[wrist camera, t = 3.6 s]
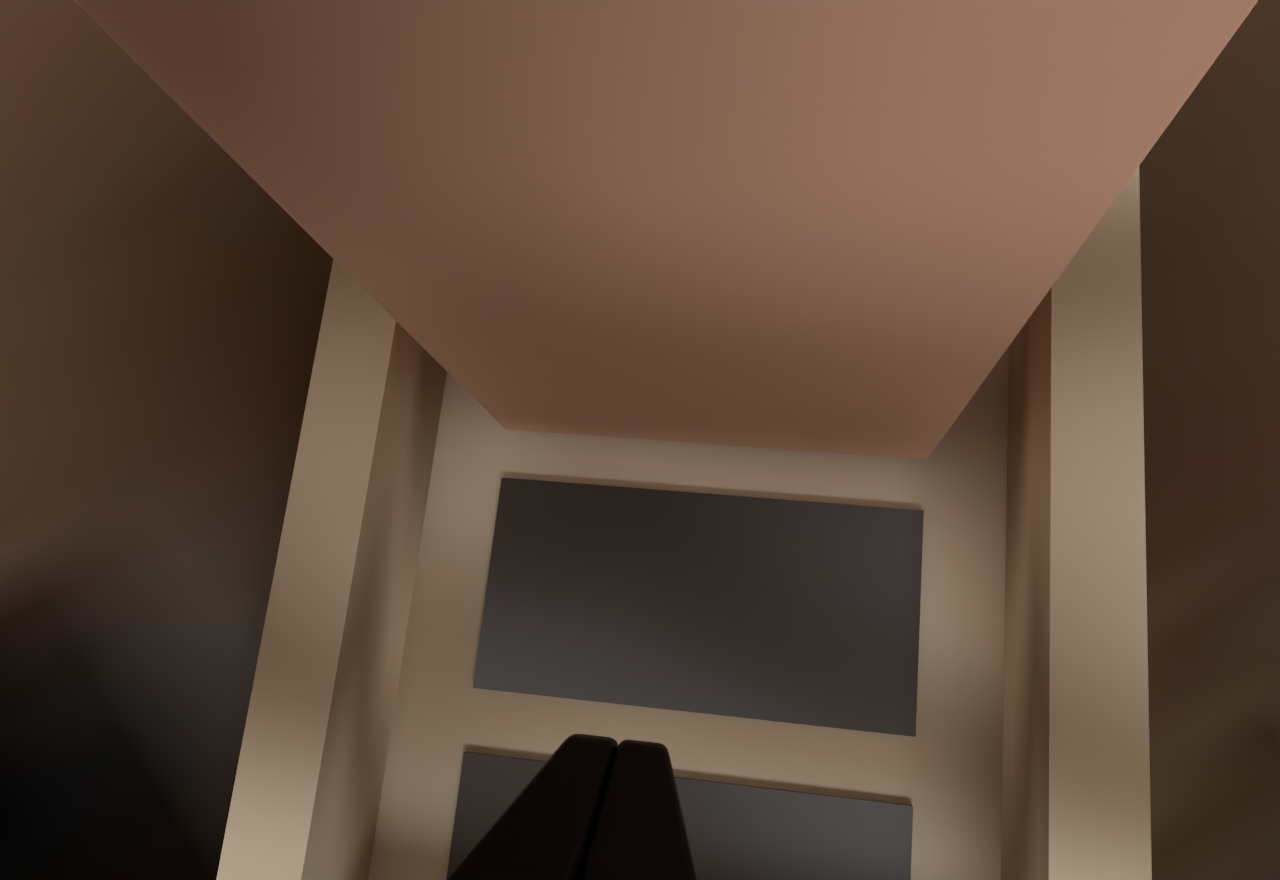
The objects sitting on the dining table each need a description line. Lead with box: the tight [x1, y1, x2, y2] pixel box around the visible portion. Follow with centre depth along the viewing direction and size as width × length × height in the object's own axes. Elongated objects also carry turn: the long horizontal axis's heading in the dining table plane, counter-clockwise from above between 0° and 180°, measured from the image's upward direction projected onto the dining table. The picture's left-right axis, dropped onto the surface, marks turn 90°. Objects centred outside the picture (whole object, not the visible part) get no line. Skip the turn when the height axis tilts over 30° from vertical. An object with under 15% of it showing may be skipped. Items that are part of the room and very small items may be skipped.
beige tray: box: [216, 166, 1152, 880], centre depth 16 cm, size 24×12×4 cm, turn 174°
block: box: [73, 0, 1258, 459], centre depth 11 cm, size 6×7×12 cm
